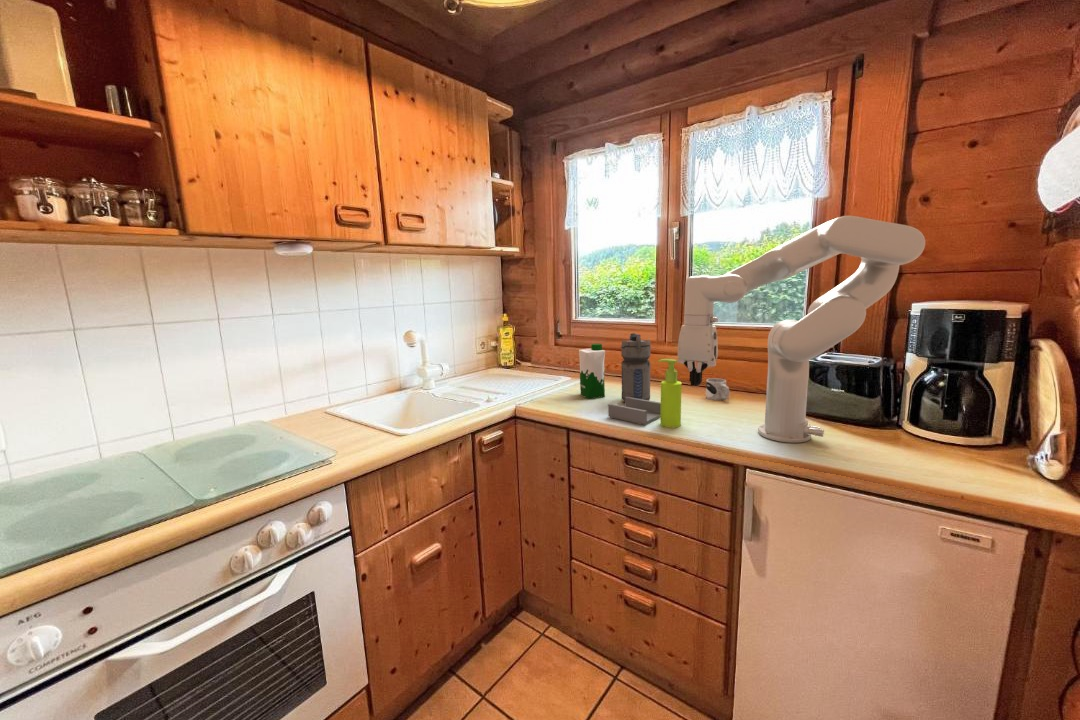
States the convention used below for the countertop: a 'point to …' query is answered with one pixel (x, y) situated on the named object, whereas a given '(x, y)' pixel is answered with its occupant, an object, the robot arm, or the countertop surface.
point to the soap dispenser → (670, 397)
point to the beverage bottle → (635, 368)
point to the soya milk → (592, 372)
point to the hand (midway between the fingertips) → (695, 384)
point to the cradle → (636, 411)
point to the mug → (716, 389)
